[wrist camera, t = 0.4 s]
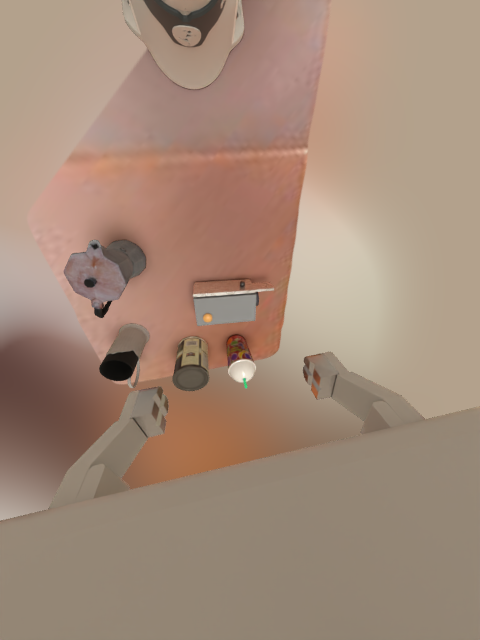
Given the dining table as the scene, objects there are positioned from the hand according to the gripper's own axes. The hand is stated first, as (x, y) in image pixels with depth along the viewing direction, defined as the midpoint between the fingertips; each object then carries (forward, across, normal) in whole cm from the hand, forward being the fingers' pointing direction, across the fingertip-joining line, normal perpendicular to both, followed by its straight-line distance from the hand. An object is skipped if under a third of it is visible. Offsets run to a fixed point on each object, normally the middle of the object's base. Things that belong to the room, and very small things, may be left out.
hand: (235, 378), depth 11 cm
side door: (+45, -4, +11) cm, 47 cm away
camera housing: (+46, -1, +16) cm, 49 cm away
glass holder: (+46, +29, +27) cm, 61 cm away
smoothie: (+46, -2, +34) cm, 58 cm away
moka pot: (+46, +21, +2) cm, 51 cm away
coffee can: (+46, +13, +34) cm, 59 cm away
